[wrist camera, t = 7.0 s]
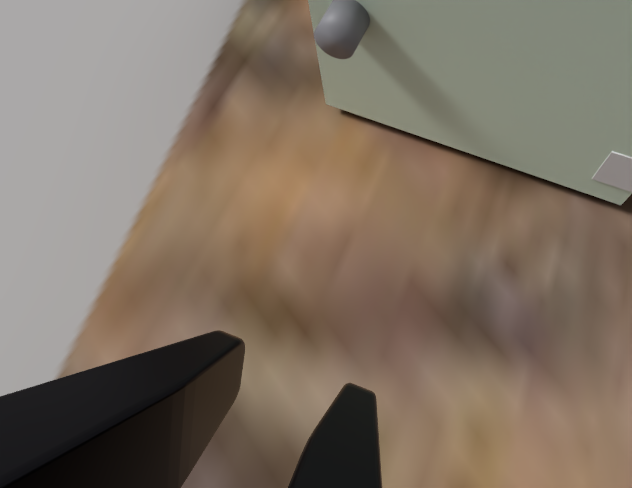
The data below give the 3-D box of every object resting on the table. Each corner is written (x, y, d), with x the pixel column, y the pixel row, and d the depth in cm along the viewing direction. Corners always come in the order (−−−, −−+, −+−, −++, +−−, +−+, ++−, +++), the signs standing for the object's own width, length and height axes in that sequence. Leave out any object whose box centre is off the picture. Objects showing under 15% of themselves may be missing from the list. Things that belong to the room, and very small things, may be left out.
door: (617, 235, 19) (833, 30, 10) (313, 126, 22) (262, -106, 13) (638, 172, 20) (858, -73, 11) (341, 75, 23) (312, -178, 14)
